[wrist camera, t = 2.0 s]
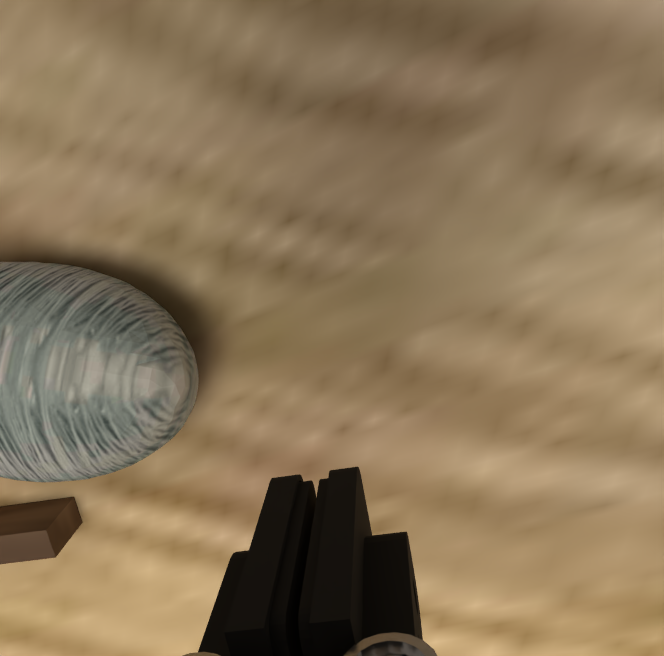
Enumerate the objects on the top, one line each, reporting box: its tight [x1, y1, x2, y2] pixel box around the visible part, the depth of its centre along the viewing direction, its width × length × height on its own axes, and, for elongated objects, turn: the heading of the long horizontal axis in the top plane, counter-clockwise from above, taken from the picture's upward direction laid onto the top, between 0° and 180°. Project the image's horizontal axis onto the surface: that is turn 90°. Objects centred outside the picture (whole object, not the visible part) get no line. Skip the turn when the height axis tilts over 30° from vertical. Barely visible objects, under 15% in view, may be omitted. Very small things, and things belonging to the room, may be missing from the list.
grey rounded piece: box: [0, 262, 199, 482], centre depth 28 cm, size 14×10×10 cm
